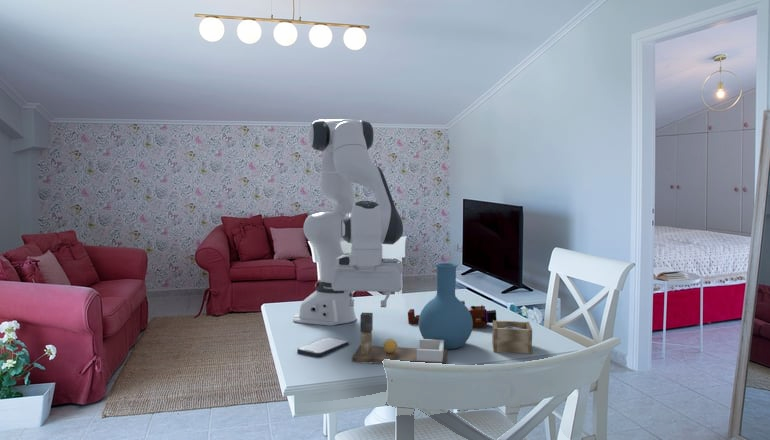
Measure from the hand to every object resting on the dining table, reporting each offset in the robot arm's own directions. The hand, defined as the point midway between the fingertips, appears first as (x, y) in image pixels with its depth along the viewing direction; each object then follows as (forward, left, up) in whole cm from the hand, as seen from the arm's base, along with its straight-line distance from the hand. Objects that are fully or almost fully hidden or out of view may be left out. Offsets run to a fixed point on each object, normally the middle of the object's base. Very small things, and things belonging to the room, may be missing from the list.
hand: (367, 306), depth 167 cm
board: (+10, 0, -15) cm, 18 cm away
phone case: (-14, +5, -15) cm, 21 cm away
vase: (+22, +15, -15) cm, 30 cm away
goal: (+18, 0, -13) cm, 22 cm away
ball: (+7, 0, -11) cm, 13 cm away
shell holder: (+42, +15, -15) cm, 47 cm away
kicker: (0, 0, -13) cm, 13 cm away
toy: (+23, +41, -15) cm, 49 cm away
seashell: (+42, +15, -15) cm, 47 cm away
